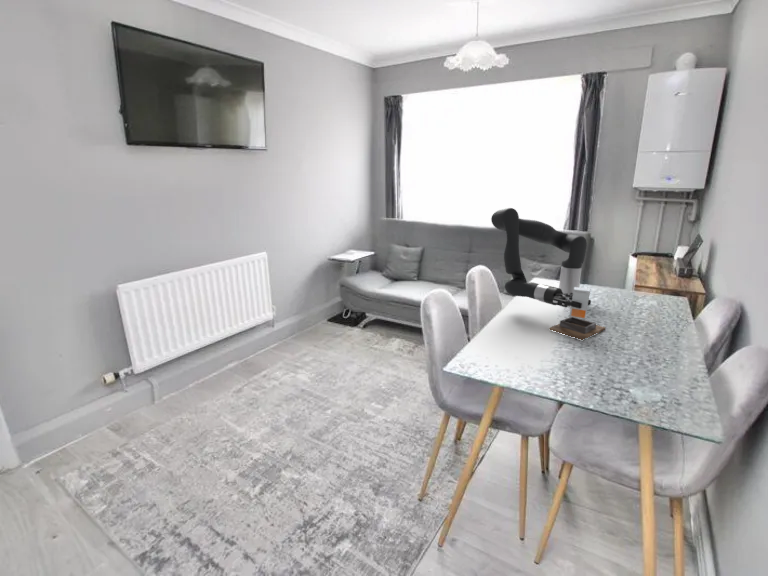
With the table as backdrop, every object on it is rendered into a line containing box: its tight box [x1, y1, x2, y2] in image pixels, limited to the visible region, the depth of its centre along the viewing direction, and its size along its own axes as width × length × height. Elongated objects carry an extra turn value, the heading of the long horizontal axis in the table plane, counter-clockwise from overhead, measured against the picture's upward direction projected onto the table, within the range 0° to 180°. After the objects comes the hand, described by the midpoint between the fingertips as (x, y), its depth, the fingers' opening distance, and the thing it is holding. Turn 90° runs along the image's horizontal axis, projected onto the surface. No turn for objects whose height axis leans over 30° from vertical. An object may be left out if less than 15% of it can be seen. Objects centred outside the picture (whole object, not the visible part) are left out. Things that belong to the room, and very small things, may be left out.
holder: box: [548, 316, 606, 341], centre depth 163 cm, size 18×14×4 cm
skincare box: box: [569, 286, 591, 320], centre depth 160 cm, size 6×4×12 cm
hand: (585, 304), depth 158 cm, fingers closed on skincare box, 6 cm apart
